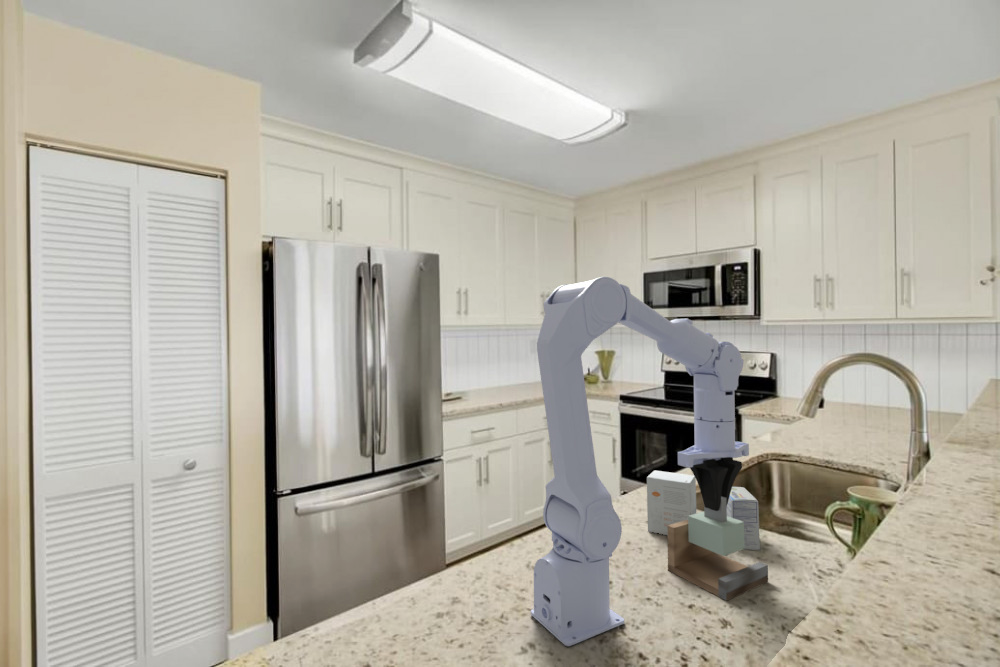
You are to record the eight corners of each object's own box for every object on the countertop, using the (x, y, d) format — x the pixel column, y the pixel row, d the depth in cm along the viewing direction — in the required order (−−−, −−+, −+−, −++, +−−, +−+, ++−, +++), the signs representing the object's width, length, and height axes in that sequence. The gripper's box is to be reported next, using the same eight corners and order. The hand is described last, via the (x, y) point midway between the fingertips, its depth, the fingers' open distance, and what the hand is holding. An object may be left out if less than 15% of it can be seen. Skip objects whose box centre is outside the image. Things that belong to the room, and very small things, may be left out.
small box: (697, 530, 89) (696, 475, 89) (691, 541, 84) (691, 482, 84) (654, 522, 93) (653, 469, 93) (646, 532, 88) (646, 476, 88)
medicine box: (760, 551, 80) (759, 500, 80) (732, 549, 81) (731, 499, 81) (745, 533, 88) (745, 486, 88) (720, 531, 88) (719, 485, 89)
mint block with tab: (723, 556, 68) (722, 504, 68) (688, 541, 73) (687, 493, 73) (744, 548, 70) (743, 498, 70) (709, 534, 75) (708, 488, 76)
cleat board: (726, 600, 65) (725, 549, 65) (667, 570, 73) (667, 525, 73) (768, 581, 70) (767, 534, 70) (708, 555, 78) (708, 513, 78)
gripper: (706, 427, 65) (708, 525, 65) (767, 418, 72) (768, 506, 72) (665, 420, 71) (666, 510, 71) (725, 412, 78) (726, 494, 78)
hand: (715, 507), depth 72 cm, fingers closed on mint block with tab
